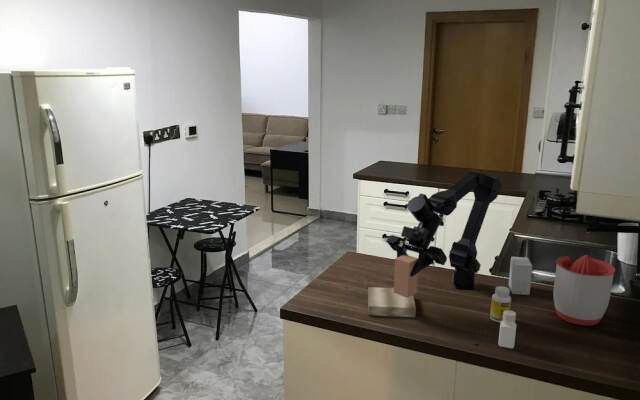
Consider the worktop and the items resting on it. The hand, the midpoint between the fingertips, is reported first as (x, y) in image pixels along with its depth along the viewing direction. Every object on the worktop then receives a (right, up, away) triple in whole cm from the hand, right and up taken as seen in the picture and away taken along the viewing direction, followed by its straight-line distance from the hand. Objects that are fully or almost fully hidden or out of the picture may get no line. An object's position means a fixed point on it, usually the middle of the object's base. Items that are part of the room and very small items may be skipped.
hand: (403, 273), depth 153 cm
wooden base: (-3, -11, +9) cm, 15 cm away
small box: (+42, -9, +22) cm, 49 cm away
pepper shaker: (+26, -18, -13) cm, 34 cm away
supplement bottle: (+29, -14, +1) cm, 32 cm away
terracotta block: (+1, -6, +3) cm, 7 cm away
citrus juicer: (+53, -14, +3) cm, 55 cm away
